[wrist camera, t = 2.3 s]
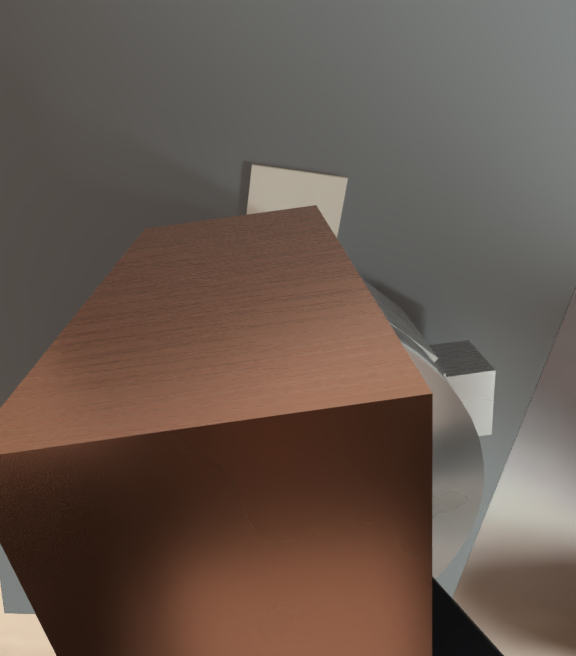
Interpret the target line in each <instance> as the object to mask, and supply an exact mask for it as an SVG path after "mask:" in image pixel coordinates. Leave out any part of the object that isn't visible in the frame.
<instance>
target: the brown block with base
mask: <svg viewBox="0 0 576 656" xmlns="http://www.w3.org/2000/svg"><path fill="white" fill-rule="evenodd" d="M495 372H496V370H495V369H494V368H493V367H492V366H491V365H490V363H489V362H488V361H487V360H486V359H485V358H484V357H483V356H482V355H481V353H480V352H479V351H478V350H477V349H476V348H475V347H474V346H473V345H472V343H471V342H470V341H469V340H464V341H457V342H449V343H442V344H435V345H428V343H427V342H426V341H425V339H424V338H423V337H422V335H421V334H420V332H419V331H418V330H417V328H416V327H415V325H414V324H413V323H412V321H411V320H410V318H409V317H408V316H407V314H406V313H405V312H404V310H403V309H402V308H401V307H399V306H398V305H397V304H395V303H394V302H393V301H391V300H390V299H389V298H388V297H386V296H385V295H384V294H382V293H381V292H380V291H378V290H377V289H376V288H375V287H373V286H372V285H371V284H369V283H368V282H367V281H365V280H364V279H363V278H362V277H360V275H359V273H358V272H357V270H356V269H355V267H354V265H353V264H352V262H351V260H350V259H349V257H348V256H347V254H346V252H345V251H344V249H343V247H342V246H341V244H340V243H339V241H338V239H337V238H336V236H335V234H334V233H333V231H332V230H331V228H330V226H329V225H328V223H327V222H326V220H325V218H324V217H323V215H322V213H321V212H320V210H319V209H318V207H317V205H313V206H306V207H298V208H291V209H284V210H276V211H269V212H262V213H254V214H247V215H240V216H232V217H225V218H218V219H210V220H203V221H196V222H188V223H181V224H173V225H166V226H159V227H151V228H145V229H144V230H143V232H142V233H141V234H140V235H139V236H138V238H137V239H136V240H135V241H134V243H133V244H132V245H131V246H130V248H129V249H128V250H127V251H126V253H125V254H124V255H123V256H122V258H121V259H120V260H119V261H118V263H117V264H116V265H115V266H114V268H113V269H112V270H111V271H110V272H109V274H108V275H107V276H106V277H105V279H104V280H103V281H102V282H101V284H100V285H99V286H98V287H97V289H96V290H95V291H94V292H93V294H92V295H91V296H90V297H89V299H88V300H87V301H86V302H85V304H84V305H83V306H82V307H81V308H80V310H79V311H78V312H77V313H76V315H75V316H74V317H73V318H72V320H71V321H70V322H69V323H68V325H67V326H66V327H65V328H64V330H63V331H62V332H61V333H60V335H59V336H58V337H57V338H56V340H55V341H54V342H53V343H52V345H51V346H50V347H49V348H48V349H47V351H46V352H45V353H44V354H43V356H42V357H41V358H40V359H39V361H38V362H37V363H36V364H35V366H34V367H33V368H32V369H31V371H30V372H29V373H28V374H27V376H26V377H25V378H24V379H23V381H22V382H21V383H20V384H19V385H18V387H17V388H16V389H15V390H14V392H13V393H12V394H11V395H10V397H9V398H8V399H7V400H6V402H5V403H4V404H3V405H2V407H1V408H0V544H1V546H2V548H3V550H4V552H5V554H6V556H7V558H8V560H9V562H10V564H11V566H12V568H13V570H14V572H15V574H16V576H17V578H18V580H19V582H20V584H21V586H22V588H23V590H24V592H25V594H26V596H27V598H28V600H29V602H30V604H31V606H32V608H33V610H34V612H35V614H36V616H37V618H38V620H39V622H40V624H41V626H42V627H43V629H44V631H45V633H46V635H47V637H48V639H49V641H50V643H51V645H52V647H53V649H54V651H55V653H56V655H57V656H432V576H433V577H434V578H435V579H436V578H437V577H438V576H439V575H440V574H441V573H442V572H443V570H444V569H445V568H446V567H447V566H448V565H449V563H450V562H451V561H452V560H453V559H454V557H455V556H456V555H457V553H458V551H459V550H460V548H461V547H462V545H463V544H464V542H465V541H466V539H467V537H468V535H469V533H470V531H471V529H472V526H473V524H474V522H475V520H476V517H477V513H478V510H479V507H480V503H481V499H482V492H483V485H484V459H483V454H482V449H481V444H480V439H479V436H484V435H491V434H492V420H493V404H494V388H495Z"/></svg>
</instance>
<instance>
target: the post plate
mask: <svg viewBox="0 0 576 656" xmlns="http://www.w3.org/2000/svg"><path fill="white" fill-rule="evenodd" d="M313 205H317V207H318V209H319V210H320V212H321V213H322V215H323V217H324V218H325V220H326V222H327V223H328V225H329V226H330V228H331V230H332V231H333V233H334V234H335V236H336V238H337V239H338V241H339V243H340V244H341V246H342V247H343V249H344V251H345V252H346V254H347V256H348V257H349V259H350V260H351V262H352V264H353V265H354V267H355V269H356V270H357V272H358V273H359V275H360V277H362V278H363V279H364V280H365V281H367V282H368V283H369V284H371V285H372V286H373V287H375V288H376V289H377V290H378V291H380V292H381V293H382V294H384V295H385V296H386V297H388V298H389V299H390V300H391V301H393V302H394V303H395V304H397V305H398V306H399V307H401V308H402V309H403V310H404V312H405V313H406V314H407V316H408V317H409V318H410V320H411V321H412V323H413V324H414V325H415V327H416V328H417V330H418V331H419V332H420V334H421V335H422V337H423V338H424V339H425V341H426V342H427V343H428V345H435V344H442V343H449V342H457V341H464V340H469V341H470V342H471V343H472V345H473V346H474V347H475V348H476V349H477V350H478V351H479V352H480V353H481V355H482V356H483V357H484V358H485V359H486V360H487V361H488V362H489V363H490V365H491V366H492V367H493V368H494V369H495V370H496V372H495V388H494V404H493V420H492V434H491V435H484V436H479V439H480V444H481V449H482V454H483V459H484V485H483V492H482V499H481V503H480V507H479V510H478V513H477V517H476V520H475V522H474V524H473V526H472V529H471V531H470V533H469V535H468V537H467V539H466V541H465V542H464V544H463V545H462V547H461V548H460V550H459V551H458V553H457V555H456V556H455V557H454V559H453V560H452V561H451V562H450V563H449V565H448V566H447V567H446V568H445V569H444V570H443V572H442V573H441V574H440V575H439V576H438V577H437V578H436V581H437V582H438V583H439V584H440V585H441V586H442V587H443V588H444V589H445V591H446V592H447V593H448V594H449V595H450V596H451V597H452V598H453V595H454V592H455V590H456V587H457V585H458V582H459V580H460V577H461V575H462V572H463V570H464V567H465V565H466V562H467V560H468V557H469V555H470V552H471V550H472V547H473V545H474V542H475V540H476V537H477V535H478V532H479V529H480V527H481V524H482V522H483V519H484V517H485V514H486V512H487V509H488V507H489V504H490V502H491V499H492V497H493V494H494V492H495V489H496V487H497V484H498V482H499V479H500V477H501V474H502V472H503V469H504V466H505V464H506V461H507V459H508V456H509V454H510V451H511V449H512V446H513V444H514V441H515V439H516V436H517V434H518V431H519V429H520V426H521V424H522V421H523V419H524V416H525V414H526V411H527V409H528V406H529V403H530V401H531V398H532V396H533V393H534V391H535V388H536V386H537V383H538V381H539V378H540V376H541V373H542V371H543V368H544V366H545V363H546V361H547V358H548V356H549V353H550V351H551V348H552V346H553V343H554V340H555V338H556V335H557V333H558V330H559V328H560V325H561V323H562V320H563V318H564V315H565V313H566V310H567V308H568V305H569V303H570V300H571V298H572V295H573V293H574V290H575V288H576V0H0V408H1V407H2V405H3V404H4V403H5V402H6V400H7V399H8V398H9V397H10V395H11V394H12V393H13V392H14V390H15V389H16V388H17V387H18V385H19V384H20V383H21V382H22V381H23V379H24V378H25V377H26V376H27V374H28V373H29V372H30V371H31V369H32V368H33V367H34V366H35V364H36V363H37V362H38V361H39V359H40V358H41V357H42V356H43V354H44V353H45V352H46V351H47V349H48V348H49V347H50V346H51V345H52V343H53V342H54V341H55V340H56V338H57V337H58V336H59V335H60V333H61V332H62V331H63V330H64V328H65V327H66V326H67V325H68V323H69V322H70V321H71V320H72V318H73V317H74V316H75V315H76V313H77V312H78V311H79V310H80V308H81V307H82V306H83V305H84V304H85V302H86V301H87V300H88V299H89V297H90V296H91V295H92V294H93V292H94V291H95V290H96V289H97V287H98V286H99V285H100V284H101V282H102V281H103V280H104V279H105V277H106V276H107V275H108V274H109V272H110V271H111V270H112V269H113V268H114V266H115V265H116V264H117V263H118V261H119V260H120V259H121V258H122V256H123V255H124V254H125V253H126V251H127V250H128V249H129V248H130V246H131V245H132V244H133V243H134V241H135V240H136V239H137V238H138V236H139V235H140V234H141V233H142V232H143V230H144V229H145V228H151V227H159V226H166V225H173V224H181V223H188V222H196V221H203V220H210V219H218V218H225V217H232V216H240V215H247V214H254V213H262V212H269V211H276V210H284V209H291V208H298V207H306V206H313ZM0 582H1V590H2V597H3V605H4V613H18V614H35V612H34V610H33V608H32V606H31V604H30V602H29V600H28V598H27V596H26V594H25V592H24V590H23V588H22V586H21V584H20V582H19V580H18V578H17V576H16V574H15V572H14V570H13V568H12V566H11V564H10V562H9V560H8V558H7V556H6V554H5V552H4V550H3V548H2V546H1V544H0Z"/></svg>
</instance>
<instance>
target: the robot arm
mask: <svg viewBox="0 0 576 656" xmlns="http://www.w3.org/2000/svg"><path fill="white" fill-rule="evenodd" d="M432 656H504V655H503V654H502V653H501V652H500V651H499V650H498V649H497V647H496V646H495V645H494V644H493V643H492V642H491V641H490V640H489V639H488V637H487V636H486V635H485V634H484V633H483V632H482V631H481V630H480V628H479V627H478V626H477V625H476V624H475V623H474V622H473V621H472V620H471V618H470V617H469V616H468V615H467V614H466V613H465V612H464V611H463V610H462V608H461V607H460V606H459V605H458V604H457V603H456V602H455V601H454V599H453V598H452V597H451V596H450V595H449V594H448V593H447V592H446V591H445V589H444V588H443V587H442V586H441V585H440V584H439V583H438V582H437V581H436V579H435V578H434V577H433V576H432Z"/></svg>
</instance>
